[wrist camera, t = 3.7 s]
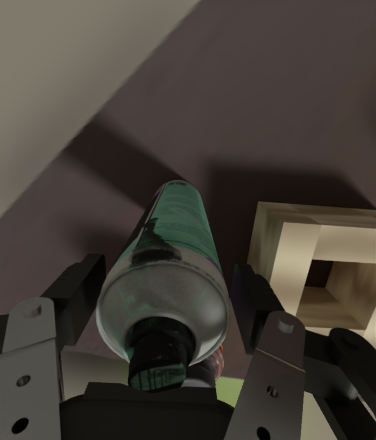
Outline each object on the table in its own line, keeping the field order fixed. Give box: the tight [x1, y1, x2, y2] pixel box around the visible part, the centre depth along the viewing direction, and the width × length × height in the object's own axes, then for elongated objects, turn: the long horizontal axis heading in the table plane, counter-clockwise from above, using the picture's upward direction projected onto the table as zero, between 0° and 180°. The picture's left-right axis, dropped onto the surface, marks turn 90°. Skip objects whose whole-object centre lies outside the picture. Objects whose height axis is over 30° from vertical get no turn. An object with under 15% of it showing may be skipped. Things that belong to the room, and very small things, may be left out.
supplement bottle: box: [181, 343, 224, 388], centre depth 23 cm, size 7×7×13 cm
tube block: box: [247, 201, 376, 349], centre depth 25 cm, size 14×14×7 cm
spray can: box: [95, 180, 230, 393], centre depth 16 cm, size 6×6×20 cm
